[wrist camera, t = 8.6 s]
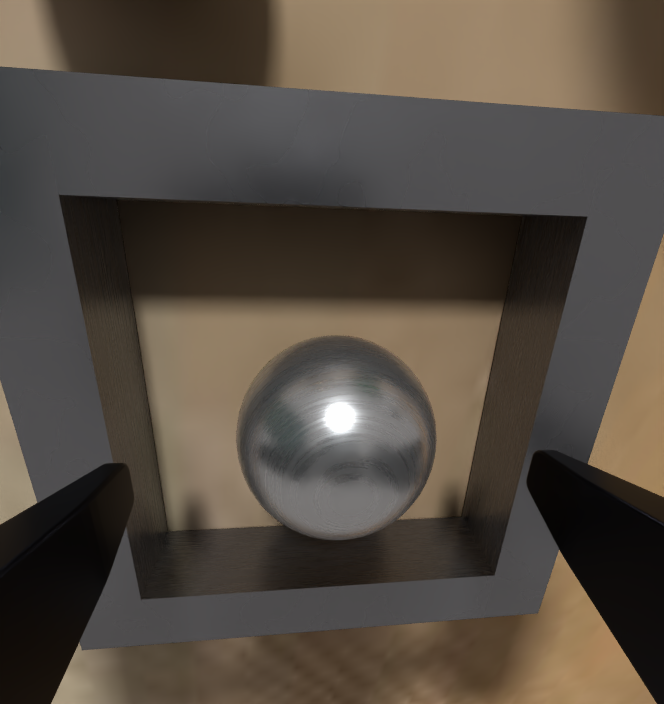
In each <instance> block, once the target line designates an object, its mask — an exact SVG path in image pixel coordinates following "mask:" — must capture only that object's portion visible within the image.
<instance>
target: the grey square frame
mask: <svg viewBox="0 0 664 704" xmlns="http://www.w3.org/2000/svg"><path fill="white" fill-rule="evenodd" d="M117 200H138V201H163V202H187V203H212V204H236V205H261V206H286V207H310V208H335V209H359V210H384V211H409V212H433V213H458V214H483V215H507V216H522V221H521V226H520V231H519V236H518V241H517V246H516V251H515V256H514V261H513V266H512V271H511V276H510V281H509V286H508V290H507V295H506V300H505V305H504V310H503V315H502V320H501V325H500V330H499V335H498V340H497V345H496V350H495V355H494V360H493V365H492V370H491V375H490V380H489V385H488V390H487V395H486V400H485V405H484V409H483V414H482V419H481V424H480V429H479V434H478V439H477V444H476V449H475V454H474V459H473V464H472V469H471V474H470V479H469V484H468V489H467V494H466V499H465V504H464V509H463V514H462V517H450V518H430V519H410V520H396V521H394V522H393V523H391V524H390V525H388V526H386V527H385V528H383V529H381V530H379V531H377V532H374V533H372V534H369V535H366V536H363V537H359V538H354V539H347V540H324V539H318V538H313V537H310V536H307V535H304V534H301V533H299V532H297V531H294V530H292V529H290V528H288V527H287V526H270V527H250V528H230V529H210V530H190V531H171V532H168V530H167V524H166V517H165V511H164V504H163V498H162V491H161V485H160V478H159V471H158V465H157V458H156V452H155V445H154V439H153V432H152V426H151V419H150V413H149V406H148V400H147V393H146V387H145V380H144V374H143V367H142V361H141V354H140V348H139V341H138V335H137V328H136V322H135V315H134V309H133V302H132V296H131V289H130V283H129V276H128V270H127V263H126V257H125V250H124V244H123V237H122V231H121V224H120V218H119V211H118V205H117ZM663 234H664V116H657V115H644V114H630V113H617V112H603V111H590V110H577V109H563V108H550V107H536V106H523V105H509V104H496V103H482V102H469V101H455V100H442V99H429V98H415V97H402V96H388V95H375V94H361V93H348V92H334V91H321V90H308V89H294V88H281V87H267V86H254V85H240V84H227V83H213V82H200V81H186V80H173V79H160V78H146V77H133V76H119V75H106V74H92V73H79V72H65V71H52V70H39V69H25V68H12V67H0V380H1V383H2V387H3V390H4V393H5V397H6V400H7V403H8V406H9V410H10V413H11V416H12V420H13V423H14V426H15V430H16V433H17V436H18V440H19V443H20V446H21V450H22V453H23V456H24V459H25V463H26V466H27V469H28V473H29V476H30V479H31V483H32V486H33V489H34V493H35V496H36V499H37V503H38V502H40V501H42V500H43V499H45V498H47V497H48V496H50V495H52V494H54V493H55V492H57V491H59V490H60V489H62V488H64V487H65V486H67V485H69V484H71V483H72V482H74V481H76V480H77V479H79V478H81V477H82V476H84V475H86V474H88V473H89V472H91V471H93V470H94V469H96V468H98V467H99V466H101V465H103V464H106V463H126V464H127V465H128V467H129V469H130V475H131V480H132V485H133V491H134V504H133V508H132V511H131V514H130V517H129V520H128V522H127V525H126V528H125V531H124V534H123V537H122V540H121V543H120V546H119V549H118V552H117V555H116V557H115V560H114V563H113V566H112V569H111V572H110V574H109V577H108V580H107V582H106V585H105V587H104V589H103V591H102V594H101V596H100V598H99V600H98V603H97V605H96V607H95V609H94V611H93V613H92V616H91V618H90V620H89V622H88V624H87V626H86V629H85V631H84V633H83V635H82V637H81V639H80V645H81V648H82V650H90V649H103V648H115V647H127V646H140V645H152V644H164V643H177V642H189V641H201V640H214V639H226V638H239V637H251V636H263V635H276V634H288V633H300V632H313V631H325V630H337V629H350V628H362V627H375V626H387V625H399V624H412V623H424V622H436V621H449V620H461V619H473V618H486V617H498V616H511V615H523V614H535V613H538V611H539V608H540V605H541V602H542V599H543V596H544V593H545V590H546V587H547V584H548V581H549V578H550V575H551V572H552V569H553V566H554V563H555V560H556V557H557V554H558V551H559V548H558V546H557V544H556V543H555V541H554V539H553V537H552V535H551V533H550V531H549V529H548V527H547V525H546V523H545V521H544V520H543V518H542V516H541V514H540V512H539V510H538V508H537V506H536V504H535V502H534V500H533V498H532V496H531V495H530V493H529V491H528V488H527V483H526V479H527V474H528V471H529V467H530V463H531V459H532V456H533V454H534V452H535V451H537V450H551V449H552V450H556V451H559V452H561V453H563V454H566V455H568V456H570V457H572V458H575V459H577V460H579V461H582V462H584V463H586V464H587V463H588V460H589V457H590V454H591V451H592V448H593V445H594V442H595V439H596V436H597V433H598V430H599V427H600V424H601V421H602V418H603V415H604V412H605V409H606V406H607V403H608V400H609V397H610V394H611V391H612V388H613V385H614V382H615V379H616V376H617V373H618V370H619V367H620V364H621V361H622V358H623V355H624V352H625V349H626V346H627V343H628V340H629V337H630V334H631V331H632V328H633V325H634V322H635V319H636V316H637V312H638V309H639V306H640V303H641V300H642V297H643V294H644V291H645V288H646V285H647V282H648V279H649V276H650V273H651V270H652V267H653V264H654V261H655V258H656V255H657V252H658V249H659V246H660V243H661V240H662V237H663Z"/></svg>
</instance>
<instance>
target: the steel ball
mask: <svg viewBox="0 0 664 704" xmlns="http://www.w3.org/2000/svg"><path fill="white" fill-rule="evenodd" d="M236 444H237V452H238V459H239V463H240V466H241V470H242V473H243V475H244V478H245V480H246V482H247V484H248V487H249V489H250V490H251V492H252V493H253V494H254V496H255V497H256V499H257V500H258V502H259V503H260V505H261V506H262V507H263V508H264V509H265V510H266V511H267V512H268V513H269V514H270V515H272V516H273V517H274V518H275V519H277V520H278V521H279V522H280V523H282V524H283V525H285V526H287V527H288V528H290V529H292V530H294V531H297V532H299V533H301V534H304V535H307V536H310V537H313V538H318V539H324V540H347V539H354V538H359V537H363V536H366V535H369V534H372V533H374V532H377V531H379V530H381V529H383V528H385V527H386V526H388V525H390V524H391V523H393V522H394V521H396V520H397V519H398V518H399V517H400V516H402V515H403V514H404V513H405V512H406V511H407V510H408V509H409V507H410V506H411V505H412V504H413V503H414V502H415V501H416V499H417V498H418V496H419V495H420V494H421V492H422V490H423V488H424V486H425V484H426V482H427V480H428V477H429V475H430V472H431V470H432V466H433V462H434V457H435V451H436V426H435V419H434V414H433V410H432V407H431V404H430V401H429V398H428V396H427V393H426V392H425V390H424V388H423V386H422V385H421V383H420V381H419V380H418V378H417V377H416V375H415V374H414V373H413V372H412V370H411V369H410V368H409V367H408V366H407V365H406V364H405V363H404V362H403V361H402V360H401V359H399V358H398V357H397V356H396V355H395V354H393V353H392V352H390V351H389V350H387V349H385V348H383V347H381V346H379V345H377V344H375V343H373V342H371V341H368V340H365V339H362V338H357V337H352V336H342V335H331V336H321V337H316V338H311V339H308V340H305V341H302V342H299V343H297V344H295V345H293V346H291V347H288V348H287V349H285V350H284V351H282V352H281V353H279V354H278V355H276V356H275V357H274V358H273V359H271V360H270V361H269V362H268V363H267V364H266V365H265V366H264V367H263V369H262V370H261V371H260V372H259V373H258V374H257V376H256V377H255V379H254V380H253V382H252V383H251V385H250V387H249V389H248V391H247V393H246V395H245V397H244V399H243V402H242V405H241V408H240V411H239V417H238V422H237V430H236Z"/></svg>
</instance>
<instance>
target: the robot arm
mask: <svg viewBox="0 0 664 704" xmlns="http://www.w3.org/2000/svg"><path fill="white" fill-rule="evenodd" d="M526 483H527V488H528V491H529V493H530V495H531V496H532V498H533V500H534V502H535V504H536V506H537V508H538V510H539V512H540V514H541V516H542V518H543V520H544V521H545V523H546V525H547V527H548V529H549V531H550V533H551V535H552V537H553V539H554V541H555V543H556V544H557V546H558V548H559V550H560V552H561V553H562V555H563V557H564V558H565V560H566V562H567V563H568V565H569V566H570V568H571V570H572V571H573V573H574V574H575V576H576V577H577V579H578V580H579V582H580V584H581V585H582V587H583V588H584V590H585V591H586V593H587V595H588V596H589V598H590V599H591V601H592V602H593V604H594V606H595V607H596V609H597V610H598V612H599V613H600V615H601V617H602V618H603V620H604V621H605V623H606V624H607V626H608V628H609V629H610V631H611V632H612V634H613V635H614V637H615V639H616V640H617V642H618V643H619V645H620V646H621V648H622V649H623V651H624V653H625V654H626V656H627V657H628V659H629V660H630V662H631V664H632V665H633V667H634V668H635V670H636V671H637V673H638V675H639V676H640V678H641V679H642V681H643V682H644V684H645V686H646V687H647V689H648V690H649V692H650V693H651V695H652V697H653V698H654V700H655V701H656V703H657V704H664V497H662V496H659V495H657V494H655V493H652V492H650V491H648V490H646V489H643V488H641V487H639V486H636V485H634V484H632V483H630V482H627V481H625V480H623V479H620V478H618V477H616V476H614V475H611V474H609V473H607V472H604V471H602V470H600V469H598V468H595V467H593V466H591V465H588V464H586V463H584V462H582V461H579V460H577V459H575V458H572V457H570V456H568V455H566V454H563V453H561V452H559V451H556V450H552V449H551V450H537V451H535V452H534V454H533V456H532V459H531V463H530V467H529V471H528V474H527V479H526ZM133 504H134V491H133V485H132V480H131V475H130V469H129V467H128V465H127V464H126V463H106V464H103V465H101V466H99V467H98V468H96V469H94V470H93V471H91V472H89V473H88V474H86V475H84V476H82V477H81V478H79V479H77V480H76V481H74V482H72V483H71V484H69V485H67V486H65V487H64V488H62V489H60V490H59V491H57V492H55V493H54V494H52V495H50V496H48V497H47V498H45V499H43V500H42V501H40V502H38V503H37V504H35V505H33V506H31V507H30V508H28V509H26V510H25V511H23V512H21V513H19V514H18V515H16V516H14V517H13V518H11V519H9V520H8V521H6V522H4V523H2V524H1V525H0V704H51V702H52V700H53V698H54V696H55V694H56V692H57V689H58V687H59V685H60V683H61V681H62V679H63V676H64V674H65V672H66V670H67V668H68V666H69V663H70V661H71V659H72V657H73V655H74V652H75V650H76V648H77V646H78V644H79V642H80V639H81V637H82V635H83V633H84V631H85V629H86V626H87V624H88V622H89V620H90V618H91V616H92V613H93V611H94V609H95V607H96V605H97V603H98V600H99V598H100V596H101V594H102V591H103V589H104V587H105V585H106V582H107V580H108V577H109V574H110V572H111V569H112V566H113V563H114V560H115V557H116V555H117V552H118V549H119V546H120V543H121V540H122V537H123V534H124V531H125V528H126V525H127V522H128V520H129V517H130V514H131V511H132V508H133Z"/></svg>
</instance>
